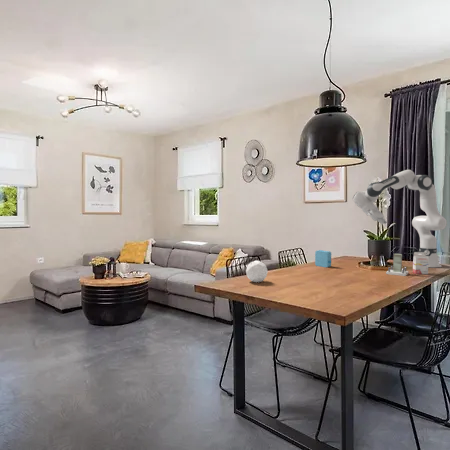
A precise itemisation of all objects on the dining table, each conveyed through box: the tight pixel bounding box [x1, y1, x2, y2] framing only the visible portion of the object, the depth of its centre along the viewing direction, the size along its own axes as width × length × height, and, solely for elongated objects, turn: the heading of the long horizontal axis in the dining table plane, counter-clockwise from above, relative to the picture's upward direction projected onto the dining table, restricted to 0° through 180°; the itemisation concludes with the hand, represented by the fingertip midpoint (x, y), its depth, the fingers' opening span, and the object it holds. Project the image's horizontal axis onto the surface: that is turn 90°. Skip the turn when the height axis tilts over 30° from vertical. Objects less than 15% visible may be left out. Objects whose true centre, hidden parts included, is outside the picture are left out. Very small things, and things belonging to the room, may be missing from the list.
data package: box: [314, 249, 332, 268], centre depth 285 cm, size 12×4×12 cm, turn 37°
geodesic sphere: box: [245, 259, 268, 283], centre depth 228 cm, size 14×14×14 cm
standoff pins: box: [387, 265, 407, 273], centre depth 255 cm, size 10×10×3 cm
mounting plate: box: [385, 268, 409, 277], centre depth 255 cm, size 12×12×2 cm
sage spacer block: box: [392, 253, 403, 272], centre depth 255 cm, size 4×4×12 cm
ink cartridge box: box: [412, 251, 429, 275], centre depth 255 cm, size 9×5×15 cm, turn 84°
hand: (384, 223), depth 265 cm, fingers open, 8 cm apart
